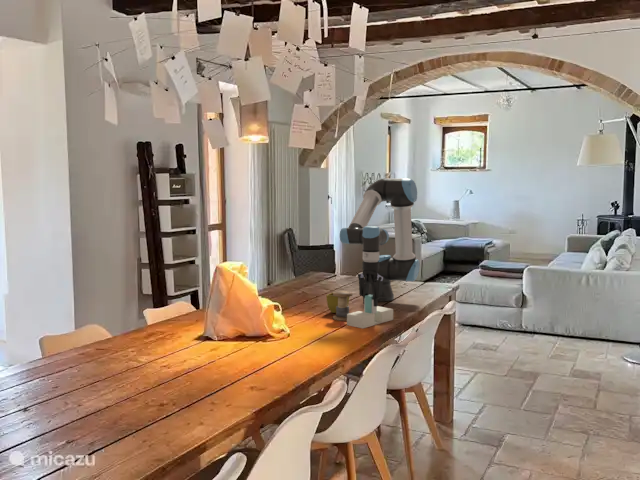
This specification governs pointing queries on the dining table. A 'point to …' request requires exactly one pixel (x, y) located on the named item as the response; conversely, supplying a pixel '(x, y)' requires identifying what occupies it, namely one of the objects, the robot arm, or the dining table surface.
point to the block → (368, 303)
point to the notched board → (369, 317)
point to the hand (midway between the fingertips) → (370, 312)
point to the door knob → (342, 305)
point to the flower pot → (333, 302)
